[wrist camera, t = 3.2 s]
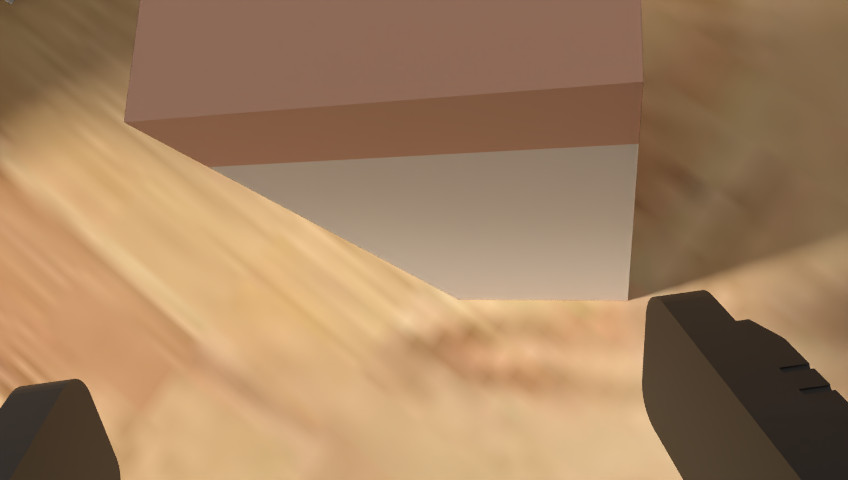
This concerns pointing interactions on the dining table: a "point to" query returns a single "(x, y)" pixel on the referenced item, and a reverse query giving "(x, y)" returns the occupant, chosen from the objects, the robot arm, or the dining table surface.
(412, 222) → the capped block
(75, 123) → the dining table surface
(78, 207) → the dining table surface
